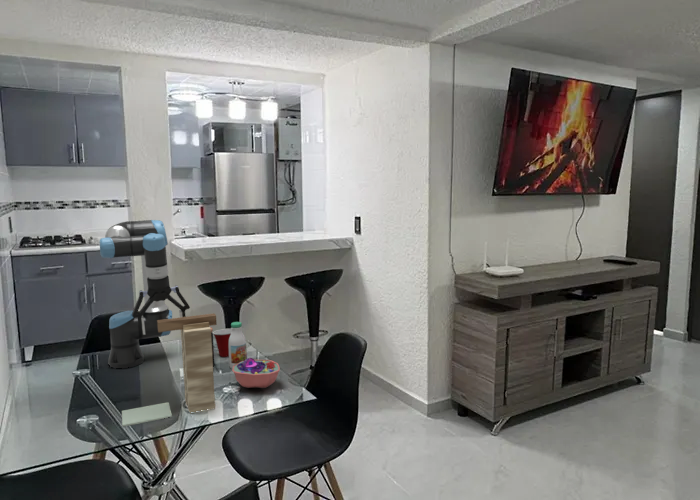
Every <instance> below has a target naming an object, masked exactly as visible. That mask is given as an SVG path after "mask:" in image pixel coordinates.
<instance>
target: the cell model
mask: <svg viewBox="0 0 700 500" xmlns="http://www.w3.org/2000/svg"><path fill="white" fill-rule="evenodd" d="M280 369H281V367H280V365H279V363H278V362H275V361H274V360H271V359H255V358H253V357H247V359H246V360H245V361H241V362H239V363H237V364H236V365H234V366H233V369H231V370H232V372H233V375H234V377H235V380H236V381H237V382H238V384H239V385H240V386H242V387H244V388H248V389H249V388H250V389H251V388H259V389H266V388H268V387H270V386H271V385H272V384H274V383H275V382H276V380H277V378H278V375H279V373H280V371H281V370H280Z"/></svg>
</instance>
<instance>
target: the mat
mask: <svg viewBox="0 0 700 500" xmlns="http://www.w3.org/2000/svg"><path fill="white" fill-rule="evenodd" d="M168 417H170V418H173V414H172V411H171V406H170V403H169V401H168V402H162V403H157V404H156V403H155V404H150V405H145V406H140V407H135V408H130V409H125V410H121V421H122V423H121V425H122V428H124V427H128V426H134V425H139V424H144V423H149V422H154V421H159V420H164V418H165V419H169V418H168Z"/></svg>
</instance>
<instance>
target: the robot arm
mask: <svg viewBox="0 0 700 500" xmlns="http://www.w3.org/2000/svg"><path fill="white" fill-rule="evenodd" d="M167 246H168V237H167V233H166V229H165V225H164V222H163V221H162V220H156V219H148V220H147V219H146V220H132V221H130V220H128V221H122V222H118V223H116V224H113V225H111V227H109V228H108V229H107V230H106V232H105V237H102V238H100V239H99V252H100V253H99V254H100V257H101V258H102V259H113V258H115V259H116V258H123V257H124V258H126V257H141V269H142V284H143V285H142V286H143V289H141V290H139V292H138V298H137V301H136V304H135V305H134V308H133V309H132V310H125V311H120V312H118V313H115V314H113V315H112V316H110V318H109V322H108V323H109V324H108V325H109V326H108V328H109V334H110V335H109V338H110V353H109V355H108V359H107V364H109V365H110V366H111V367H115V368H114V369H116V368H122V369H128V367H129V368H133V367H137V366H139V365H141V364H143V363H144V362H145V355H144V353H143V350H142V348H141V347H140V341H139V340H144V339H151V338H152V339H153V338H161V337H164V336H168V335H169V336H170V335H171V332H172V331H166V332H158V326H157V320H163V319H172V318H173V311H172V310H171V309H169V306H168V305H167V304H165V301H166V300H167V301H169V302H171V303H172V304H173V305H174V306H175V307H177V309H179V310H178V312H179V318H180V317H187V316H186V310H190V308H191V307H190V305H189V303H188V302H187V300H186V298H185V297H184V296H183V294H182V293H181V291H180V288H179V286H178V285H176V284H175V285H174V286H171V287H170V277H169V269H168V258H167V257H168V256H167ZM172 292H173V293H175V294H176V295H177V297H178V298H179V300H180V301H181V302H182V303H183V305H182V304H181V303H180V302H178V300H176V299H175V298H174V297H173V296H172V295H171V293H172ZM143 300H144V305H143V306H141V304H142V302H143ZM140 307H141V308H140ZM139 309H140V310H139ZM111 367H110V368H111Z"/></svg>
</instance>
